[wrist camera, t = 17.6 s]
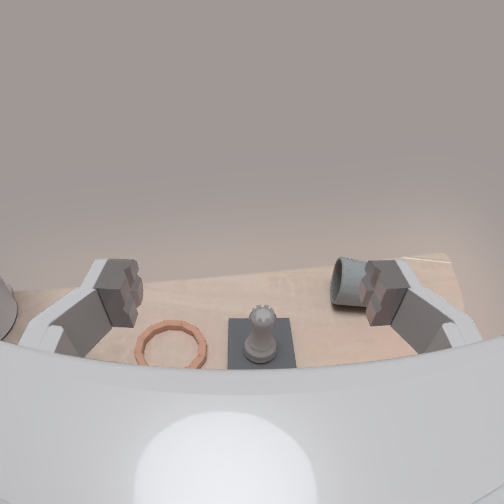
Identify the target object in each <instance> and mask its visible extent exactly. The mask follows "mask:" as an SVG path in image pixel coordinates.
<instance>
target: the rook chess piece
mask: <svg viewBox="0 0 504 504" xmlns="http://www.w3.org/2000/svg"><path fill="white" fill-rule="evenodd" d="M268 307H269V306H267V305H265V306H264V307H261V305H258V306H257V309H255V308H254V309H253V311H252V312H251V313H250V315H249V320H250V322H251V329H252V332H251V334H250V335H249V336H248V337H247V339H246V341H245V343H244V353H245V355H246V357H247V358H248V359H250V360H251V361H253V362H256V363H265V362H268V361H270V360H271V359H272V358H274V357H275V354H276V352H277V351H276V348H277V346H276V341H275V340H274V338H273V337H272V334H271V331H272V330H273V328H274V326H273V325H274V324H275V322H276V315H275V313H274V310H273V309H272V308H271V309H268Z"/></svg>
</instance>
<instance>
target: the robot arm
mask: <svg viewBox="0 0 504 504" xmlns="http://www.w3.org/2000/svg"><path fill="white" fill-rule="evenodd" d="M138 270H139V268H138V264H137V261H135V260H130V259H129V260H128V259H96V260H95V261H94V263H93V265H92V267H91V268H90V270H89V272H88V274H87V275H86V277H85V279H84V281H83V283H82V285H81V286H80V288H75V289H74V290H72V291H71V292H69V293H68V294H67V295H65V296H64V297H62V298H61V299H59V300H58V301H57V302H55V303H54V304H52V305H51V306H50V307H48V308H47V309H45V310H44V311H43V312H41V313H40V314H38V315H37V316H36V317H34V318H33V319H32V320H30V322H29V324H28V326H27V328H26V329H25V331H24V333H23V335H22V337H21V339H20V341H19V343H18V345H16V344H12V343H8V342H4V341H0V504H504V335H501V336H498V337H494V338H490V339H487V340H483V338H482V336H481V334H480V333H479V331H478V329H477V327H476V326H475V324H474V322H473V321H472V319H471V318H470V317H469V316H467V315H466V314H464V313H463V312H462V311H460V310H459V309H457V308H456V307H454V306H453V305H452V304H450V303H449V302H447V301H446V300H444V299H443V298H441V297H440V296H438V295H437V294H435V293H434V292H432V291H431V290H429V289H428V288H426V287H422V285H421V283H420V282H419V280H418V278H417V277H416V275H415V274H414V272H413V270H412V269H411V267H410V266H409V264H408V263H407V261H405V260H404V259H402V260H377V261H368V262H367V263H366V266H365V269H364V270H365V272H366V275H365V276H364V277H363V278H362V279H361V282H360V285H359V297H360V300H361V303H362V304H363V305H364V306H365V307H367V310H366V312H365V313H366V316H367V319H368V321H369V324H370V326H383V325H391V327H392V328H393V329H394V330H395V331H396V332H397V333H398V334H399V335H400V336H401V337H402V338H403V339H404V340H405V341H406V342H407V343H408V344H409V345H410V346H411V347H412V348H413V349H414V350H415V351H416V352H417V353H418V355H412V356H406V357H400V358H393V359H386V360H379V361H371V362H363V363H354V364H345V365H334V366H322V367H307V368H289V369H256V370H224V369H191V368H173V367H159V366H147V365H136V364H127V363H118V362H110V361H102V360H95V359H88V358H84V357H85V356H86V355H87V354H88V353H89V352H90V350H91V349H92V348H93V347H94V346H95V345H96V344H97V343H98V342H99V341H100V340H101V339H102V338H103V337H104V336H105V335H106V334H107V333H108V332H109V331H110V330H111V329H112V327H127V328H134V325H135V322H136V319H137V316H138V312H137V309H136V308H137V307H138V306H140V305H141V303H142V299H143V283H142V280H141V278H140V277H138V275H137V273H138ZM16 315H17V304H16V301H15V300H14V298H13V289H12V288H11V286H10V285H6V284H5V283H4V281H3V279H2V278H1V276H0V340H1V339H2V338H3V337H4V336H5V335H6V334H7V333H8V331H9V330H10V328H11V327H12V325H13V323H14V321H15V318H16Z"/></svg>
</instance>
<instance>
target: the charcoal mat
mask: <svg viewBox="0 0 504 504" xmlns="http://www.w3.org/2000/svg"><path fill="white" fill-rule="evenodd" d="M273 326H274V328H273V330H272V331H271V334H272V337H273V338H274V340H275V341H276V346H277V348H276V351H277V352H276V354H275V357H274V358H272V359H271V360H270V361H268V362H265V363H256V362H253V361H251V360H250V359H248V358H247V357H246V355H245V353H244V343H245V341H246V339H247V337H248V336H249V335H250V334H251V332H252V329H251V322H250V320H249V318H229V332H228V370H256V369H289V368H296V361H295V354H294V347H293V341H292V334H291V328H290V321H289V318H276V322H275V324H274V325H273Z"/></svg>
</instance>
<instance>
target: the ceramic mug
mask: <svg viewBox="0 0 504 504" xmlns="http://www.w3.org/2000/svg"><path fill="white" fill-rule="evenodd" d="M366 263H367V262H364V261H359V260H354V259H349V258H344V257H340V258H338V260H337V261H336V264H335V267H334V270H333V275H332V281H331V301H332V303H333V304H337V305H348V306H360V307H365V306H364V305H363V304H362V303H361V300H360V297H359V285H360V282H361V279H362V278H363V277H364V276H365V275H366V272H365V270H364V269H365V266H366Z"/></svg>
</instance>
